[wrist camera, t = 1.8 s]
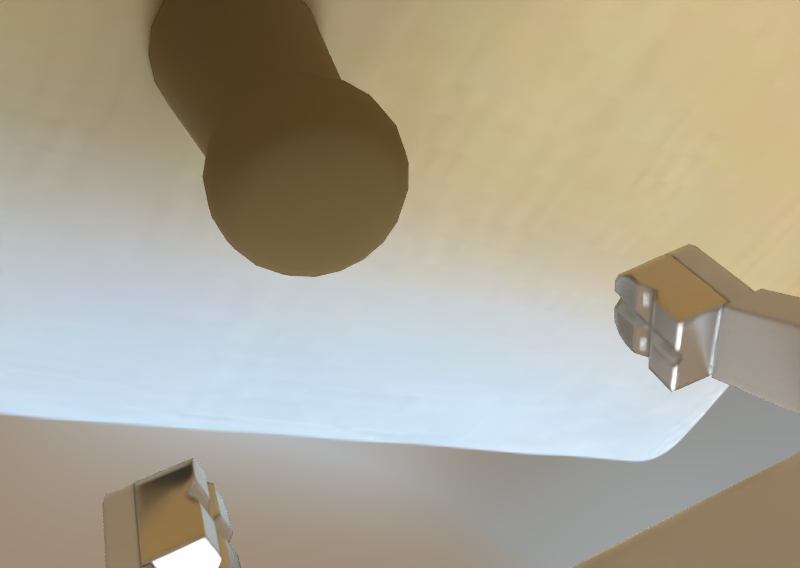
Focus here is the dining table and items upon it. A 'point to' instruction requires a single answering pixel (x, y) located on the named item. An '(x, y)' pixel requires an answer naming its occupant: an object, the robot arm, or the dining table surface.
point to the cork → (279, 133)
